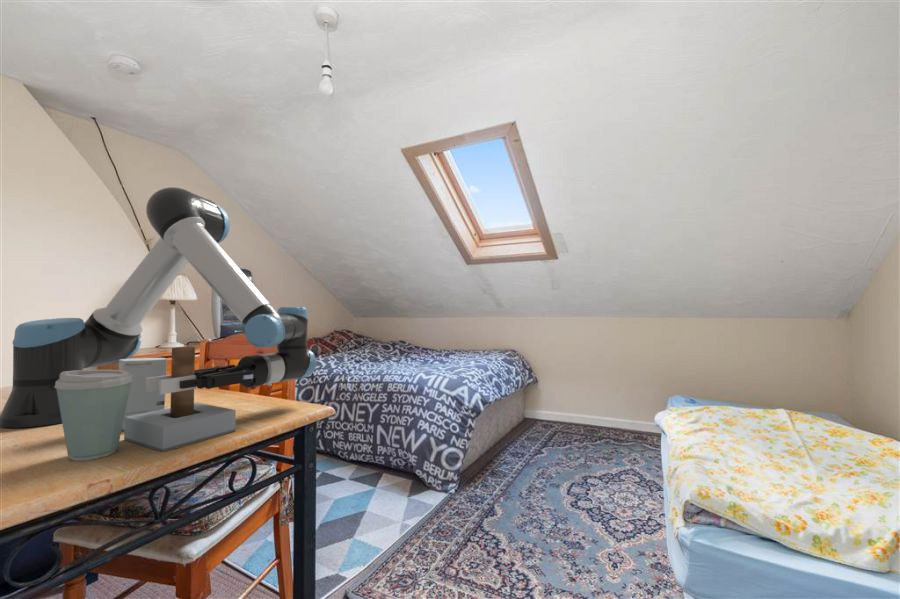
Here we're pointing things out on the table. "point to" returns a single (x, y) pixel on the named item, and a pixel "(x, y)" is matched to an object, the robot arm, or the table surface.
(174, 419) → the bore block
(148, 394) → the skincare box
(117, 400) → the disposable coffee cup
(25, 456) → the table surface
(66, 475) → the table surface
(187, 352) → the walnut dowel
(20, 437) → the table surface
